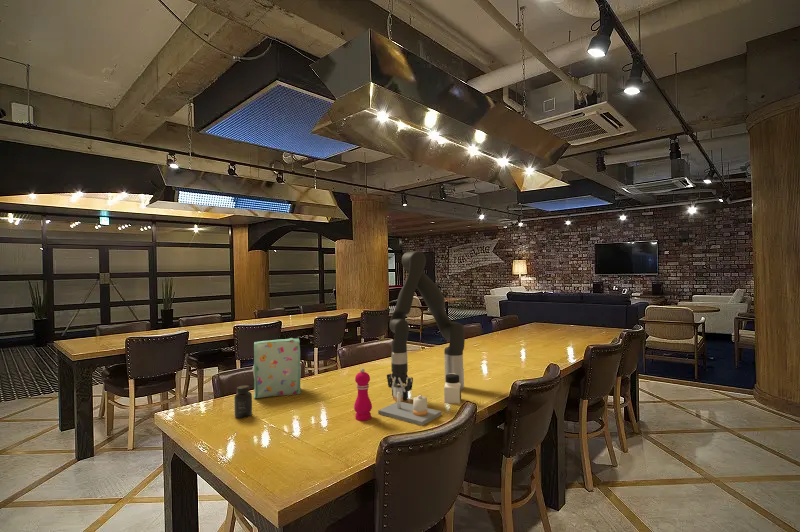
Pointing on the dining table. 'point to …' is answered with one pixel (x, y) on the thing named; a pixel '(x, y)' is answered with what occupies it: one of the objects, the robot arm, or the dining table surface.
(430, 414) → the pin board
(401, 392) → the sleeve
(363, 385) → the pepper mill
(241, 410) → the supplement bottle
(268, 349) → the lunch bag
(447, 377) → the medicine bottle
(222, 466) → the dining table surface
